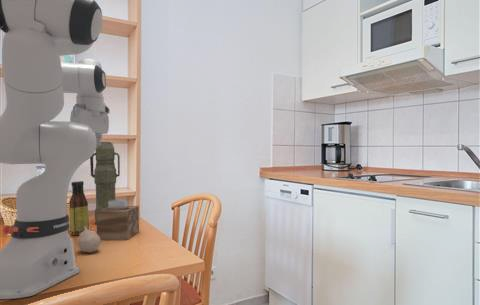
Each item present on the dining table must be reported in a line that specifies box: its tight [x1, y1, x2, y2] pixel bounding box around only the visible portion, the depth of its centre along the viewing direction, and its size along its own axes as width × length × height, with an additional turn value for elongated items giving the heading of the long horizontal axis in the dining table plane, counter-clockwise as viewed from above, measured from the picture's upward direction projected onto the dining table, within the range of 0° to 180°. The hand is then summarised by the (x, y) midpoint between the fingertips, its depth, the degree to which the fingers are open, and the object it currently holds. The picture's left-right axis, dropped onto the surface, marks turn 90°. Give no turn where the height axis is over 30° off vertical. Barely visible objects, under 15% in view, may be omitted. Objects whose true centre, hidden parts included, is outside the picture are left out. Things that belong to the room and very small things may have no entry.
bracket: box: [108, 199, 128, 210], centre depth 119 cm, size 2×6×8 cm, turn 86°
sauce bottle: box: [69, 180, 90, 237], centre depth 122 cm, size 7×6×20 cm
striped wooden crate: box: [96, 205, 140, 241], centre depth 120 cm, size 11×11×10 cm
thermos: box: [89, 141, 121, 226], centre depth 141 cm, size 9×12×35 cm
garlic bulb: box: [77, 226, 102, 253], centre depth 101 cm, size 7×6×8 cm
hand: (90, 145), depth 116 cm, fingers open, 8 cm apart
